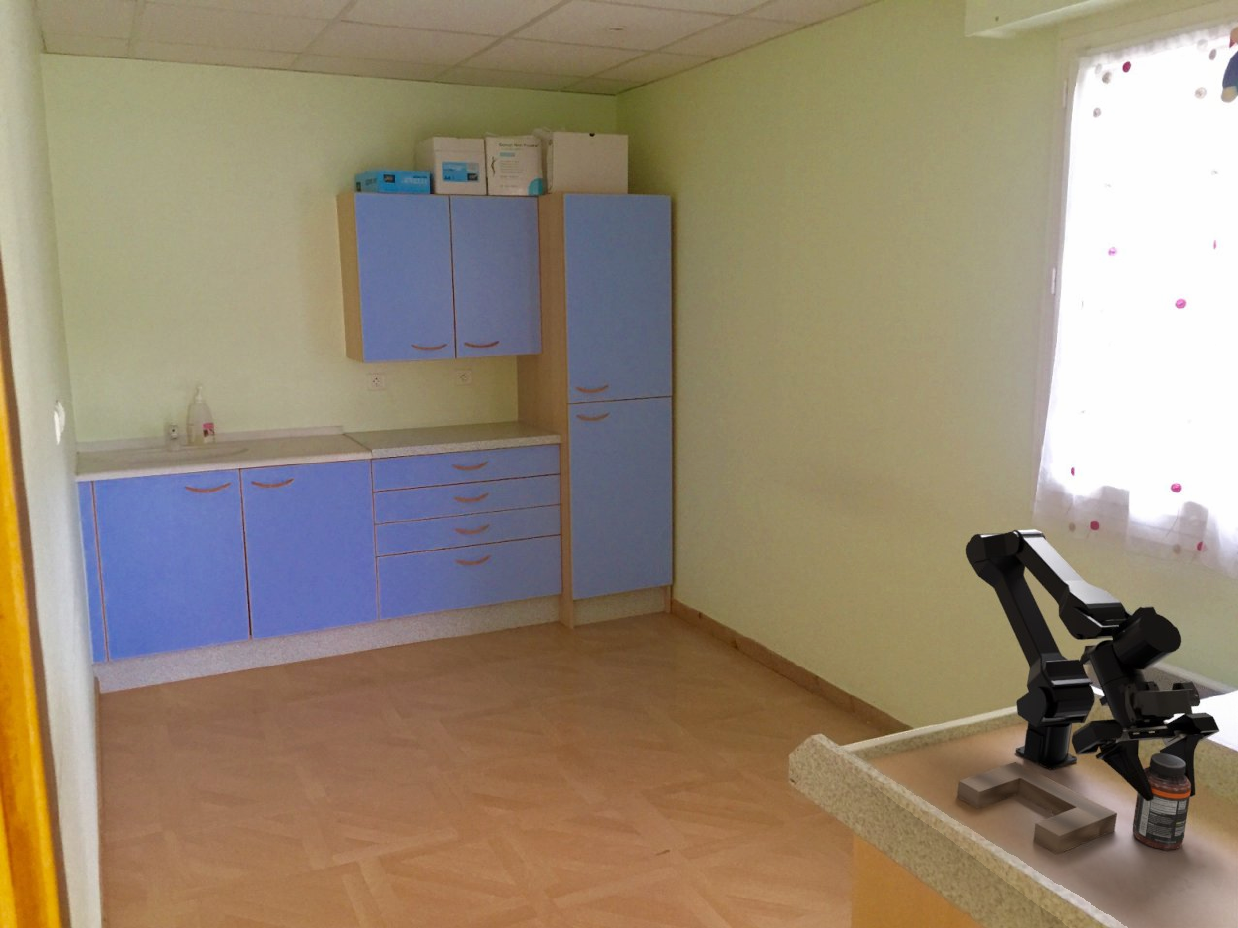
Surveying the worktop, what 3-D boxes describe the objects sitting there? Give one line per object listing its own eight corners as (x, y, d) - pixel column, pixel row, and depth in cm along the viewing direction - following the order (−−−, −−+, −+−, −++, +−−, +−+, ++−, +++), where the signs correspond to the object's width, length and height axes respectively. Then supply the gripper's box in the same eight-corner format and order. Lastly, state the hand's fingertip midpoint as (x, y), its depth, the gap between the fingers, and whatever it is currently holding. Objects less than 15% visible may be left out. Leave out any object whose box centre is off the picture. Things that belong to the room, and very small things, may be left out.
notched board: (1013, 777, 151) (1015, 761, 150) (1114, 830, 138) (1117, 812, 137) (957, 796, 145) (958, 780, 144) (1057, 853, 131) (1059, 835, 131)
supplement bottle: (1137, 821, 140) (1149, 744, 138) (1186, 838, 136) (1199, 758, 134) (1126, 839, 135) (1138, 759, 133) (1176, 857, 132) (1189, 775, 130)
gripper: (1097, 663, 133) (1146, 784, 124) (1219, 655, 137) (1275, 773, 129) (1051, 695, 142) (1094, 811, 134) (1167, 687, 146) (1216, 799, 138)
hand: (1171, 798), depth 133 cm, fingers closed on supplement bottle, 6 cm apart
